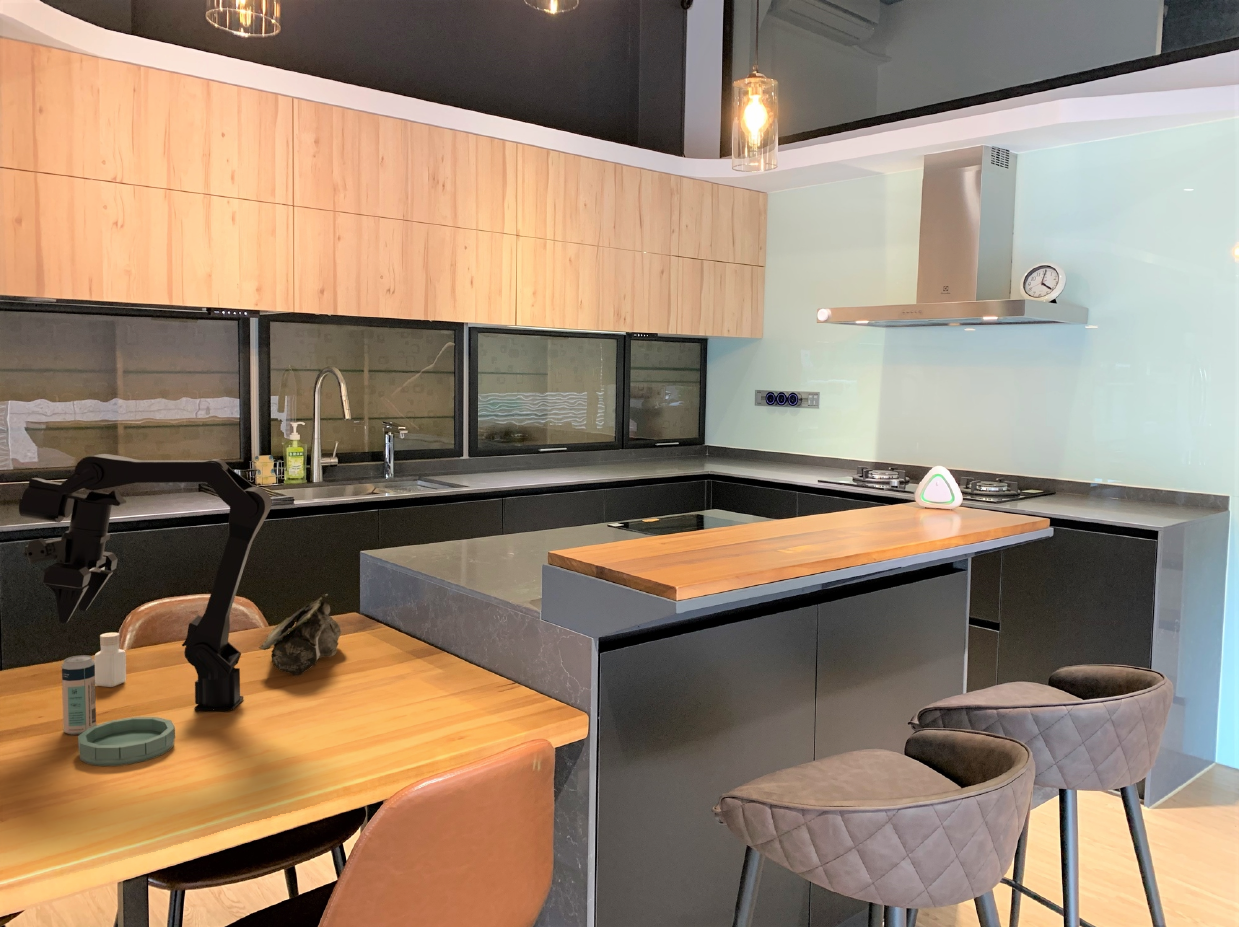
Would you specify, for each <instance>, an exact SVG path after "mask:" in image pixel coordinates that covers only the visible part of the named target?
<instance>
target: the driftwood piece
mask: <svg viewBox="0 0 1239 927" xmlns="http://www.w3.org/2000/svg"><path fill="white" fill-rule="evenodd" d="M328 595H329V594H328V593H324V594H322V595H320V596H319V597H316V598H315V599H312V600H311V601H309V602H308V603H307V604H305V605H304V606H303V607H301V608H300V609H299V610H297V611H296V612H295V613H293V614H292V615H290V616H288V617H286V618H285V619H284V620H283V621H281V622H279V624H277V625H276V626H275V627H274V628H272V629H271V632H270V633H269V634H267V636H266V637H267V638H266V639H265V641H263V644H261V645H260V646H259V647H258V649H261V650H263V651H267V650H270V649H271V647H272V646H273V649H272V650H271V651H270V652H271V662H272V663H273V666H274V667H275V668H276V669H277V670H279V671H281V672H284V673H286V674H291V676H293V677H295V676H297V677H298V676H301V675H303V673H305V672H306V671H308V670H310V669H311V668H312V667H315V666H316V663H317V661H318V659H320V658H321V659H322V658H323V657H327V658H329V657H333V656H335V655H336V654H337V652H338V651H337V648H338V645H339V642H338V641H339V639H340V636H341V635H342V631H341V626H340V625H339V623H338V622H337V621H336V620H335V619H334V618H333V617H332V616H330V612H331V607H330V606H331V605H330V604H329V603H327V602H325V601H323V602H322V600H323V598H327V597H328Z"/></svg>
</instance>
